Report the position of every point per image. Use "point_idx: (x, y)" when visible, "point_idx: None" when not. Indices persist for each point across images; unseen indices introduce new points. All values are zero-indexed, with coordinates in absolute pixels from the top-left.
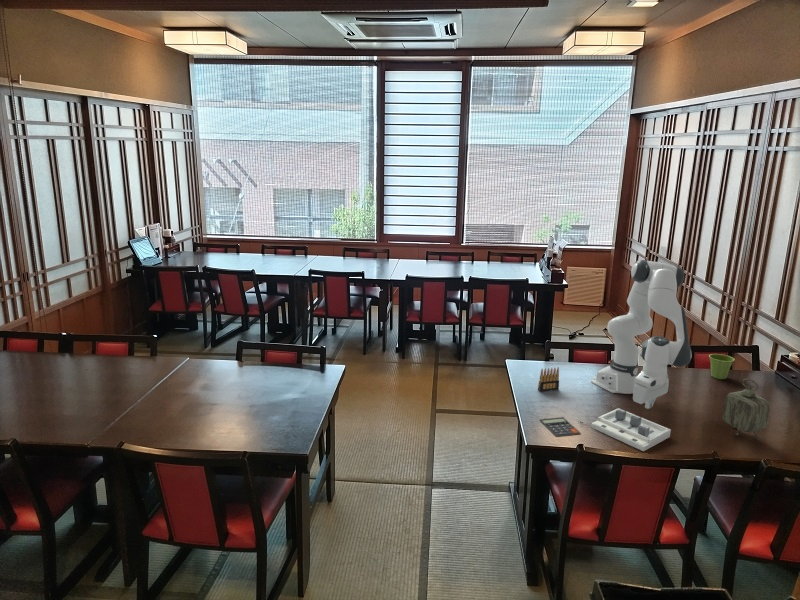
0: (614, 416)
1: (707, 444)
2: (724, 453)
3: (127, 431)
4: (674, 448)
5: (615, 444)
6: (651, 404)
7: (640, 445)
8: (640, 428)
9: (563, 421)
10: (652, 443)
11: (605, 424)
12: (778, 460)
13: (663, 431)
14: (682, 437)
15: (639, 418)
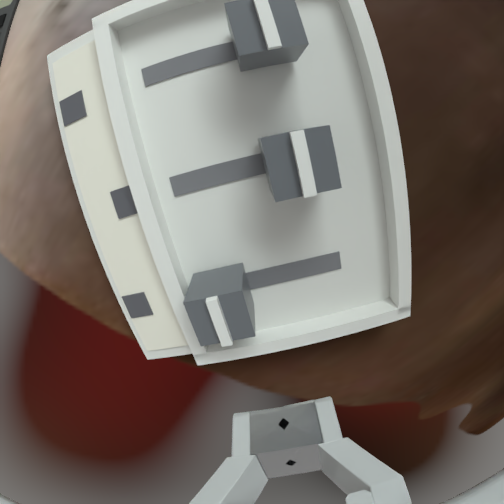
0: None
1: (444, 368)
2: (422, 412)
3: None
4: (313, 368)
5: (66, 252)
6: (297, 472)
7: (139, 344)
8: (189, 312)
9: (1, 8)
10: None
11: (97, 87)
12: (469, 433)
13: (355, 322)
14: (431, 311)
15: (309, 194)
